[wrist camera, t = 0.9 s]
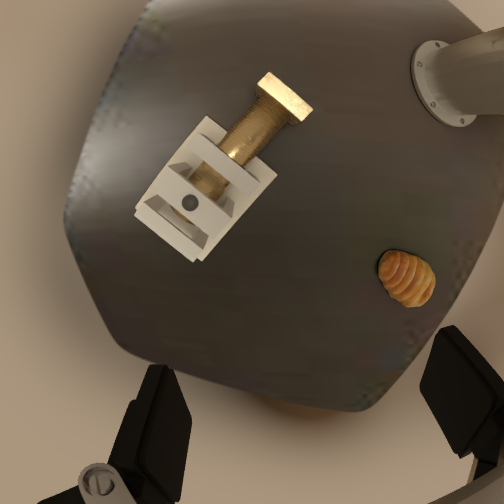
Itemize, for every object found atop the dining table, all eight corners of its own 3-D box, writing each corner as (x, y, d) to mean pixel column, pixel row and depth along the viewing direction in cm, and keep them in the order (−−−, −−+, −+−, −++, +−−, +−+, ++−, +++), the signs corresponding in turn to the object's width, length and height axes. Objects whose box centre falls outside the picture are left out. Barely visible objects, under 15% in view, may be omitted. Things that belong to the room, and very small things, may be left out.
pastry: (363, 277, 36) (374, 290, 33) (392, 235, 35) (406, 244, 31) (405, 305, 38) (418, 318, 34) (432, 268, 36) (446, 278, 33)
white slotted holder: (207, 116, 29) (194, 103, 21) (276, 174, 31) (288, 182, 23) (137, 206, 32) (105, 225, 24) (202, 258, 35) (190, 293, 26)
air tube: (265, 84, 27) (269, 71, 22) (302, 115, 28) (313, 109, 23) (169, 193, 30) (156, 201, 26) (206, 223, 32) (199, 236, 27)
